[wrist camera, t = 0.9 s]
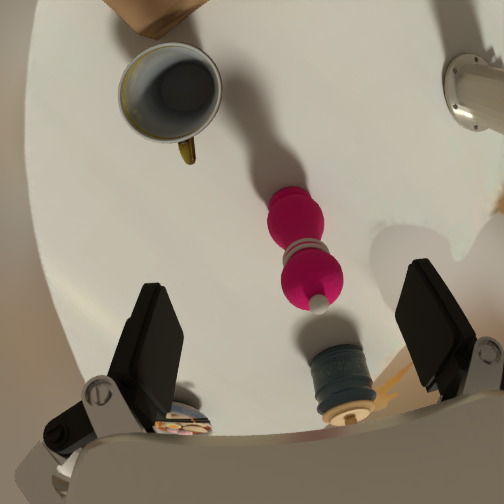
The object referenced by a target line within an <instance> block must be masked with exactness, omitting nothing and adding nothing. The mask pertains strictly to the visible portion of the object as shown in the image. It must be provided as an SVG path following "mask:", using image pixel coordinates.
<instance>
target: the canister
mask: <svg viewBox="0 0 504 504" xmlns="http://www.w3.org/2000/svg"><path fill="white" fill-rule="evenodd" d="M311 375H312V378H313V383H314V389H315V398H316V400H317V401H318V403H319V405H318V406H317V412H318V413H319V414H321V415H323V417H322V419H323V421H324V422H326V423H329V424H332V425H336V426H343V425H345V426H347V425H353V424H357V422H358V421H360V420H362V419H364V418H366V417H367V416H368V415H369V413H370V412H371V411H372V410H373V409H374V408H375V403H374V402H373V401H374V400H375V398H376V392H375V391H374V390H373V389H372V384H373V381H372V379H371V377H370V374H369V370H368V367H367V364H366V358H365V355H364V353H363V352H362V350H361V349H360V348H358V347H356V346H353V345H341V346H336V347H332V348H329V349H327V350H325V351H323V352H321V353H320V354H318V355H317V356H316V357H315V358H314V359H313V361H312V363H311Z"/></svg>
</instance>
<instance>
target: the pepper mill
mask: <svg viewBox="0 0 504 504" xmlns="http://www.w3.org/2000/svg"><path fill="white" fill-rule="evenodd" d="M267 225H268V229H269V233H270V235H271V237H272V238H273V240H274V241H275V242H276V243H277V244H278V245H279V246H280V247H281V248H283V249H284V250H285V252H284V255H283V266H284V268H283V271H282V274H281V286H282V290H283V293H284V294H285V296H286V298H287V299H288V300H289V302H290V303H291V304H293V305H294V306H296V307H297V308H300V309H302V310H308V311H311V312H313V313H314V314H323V313H324V312H326V311H327V309H328V307H329V305H330V304H332V303H333V302H334V301H335V300H336V299H337V298H338V296H339V295H340V293H341V290H342V287H343V272H342V269H341V266H340V264H339V263H338V261H337V260H336V259H335V258H334V257H333V256H332V255H330V253H329V250H328V248H327V246H326V245H325V244H324V243H323V242H321V241H320V240H321V237H322V234H323V231H324V217H323V214H322V211H321V208H320V207H319V205H318V204H317V203H316V202H315V201H314V200H313V199H312V198H311V196H310V195H309V194H308V193H307V192H306V191H305V190H303V189H301V188H299V187H286V188H283V189H281V190H279V191H278V192H276V193H275V194H274V195H273V197H272V198H271V200H270V203H269V213H268V218H267Z"/></svg>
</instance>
